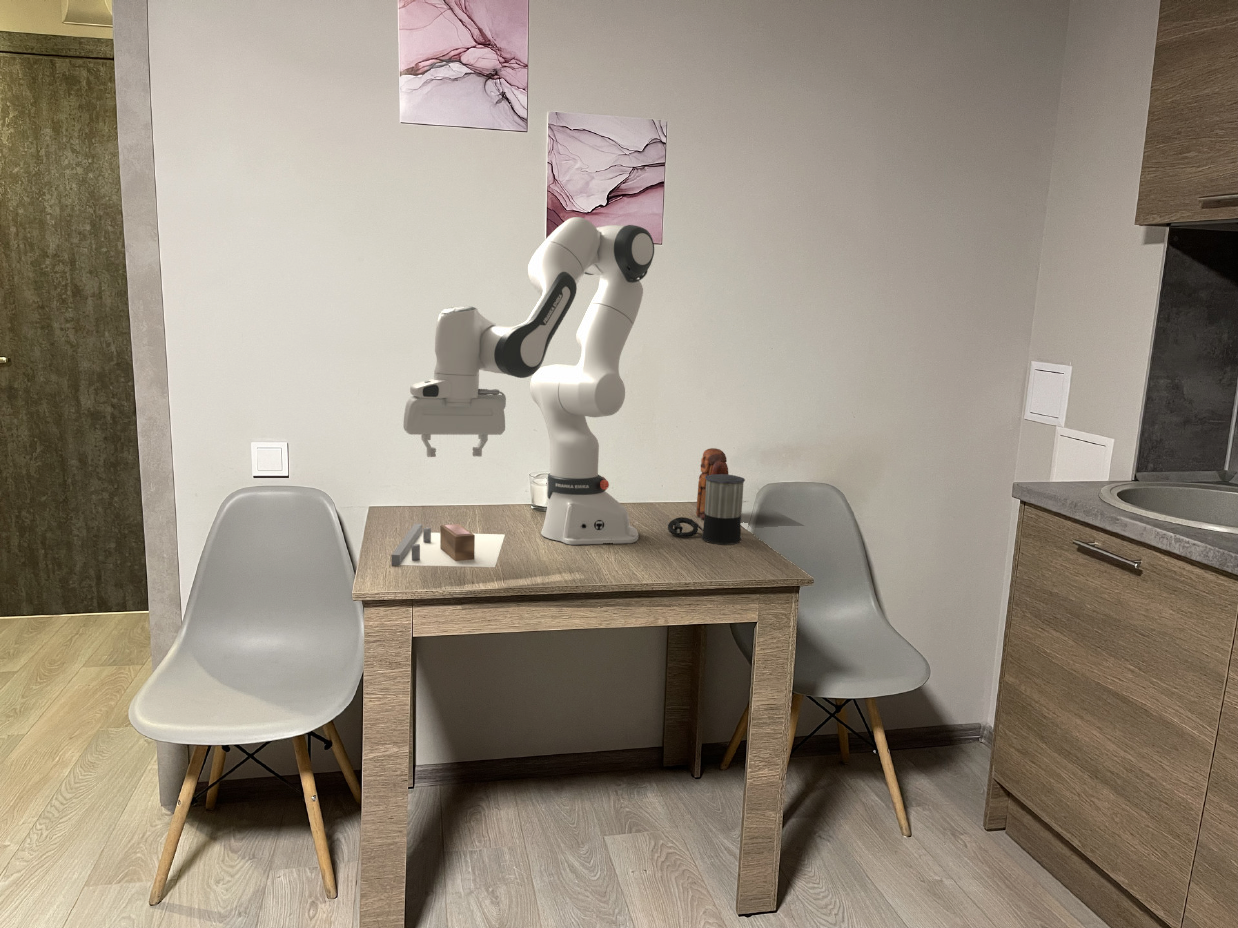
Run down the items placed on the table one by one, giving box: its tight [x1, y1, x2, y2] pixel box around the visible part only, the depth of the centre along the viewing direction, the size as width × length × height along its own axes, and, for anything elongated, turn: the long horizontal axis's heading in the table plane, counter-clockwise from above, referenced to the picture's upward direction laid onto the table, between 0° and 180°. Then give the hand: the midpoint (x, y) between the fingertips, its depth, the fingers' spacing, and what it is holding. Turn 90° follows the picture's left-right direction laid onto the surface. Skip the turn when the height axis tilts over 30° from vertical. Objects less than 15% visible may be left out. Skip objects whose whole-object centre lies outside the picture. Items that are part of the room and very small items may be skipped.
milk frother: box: [667, 474, 746, 545], centre depth 209 cm, size 14×16×15 cm
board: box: [390, 522, 506, 568], centre depth 188 cm, size 20×26×4 cm
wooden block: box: [439, 523, 475, 561], centre depth 184 cm, size 4×10×5 cm, turn 28°
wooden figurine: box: [695, 447, 729, 521], centre depth 230 cm, size 12×6×18 cm, turn 14°
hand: (454, 456), depth 182 cm, fingers open, 8 cm apart
